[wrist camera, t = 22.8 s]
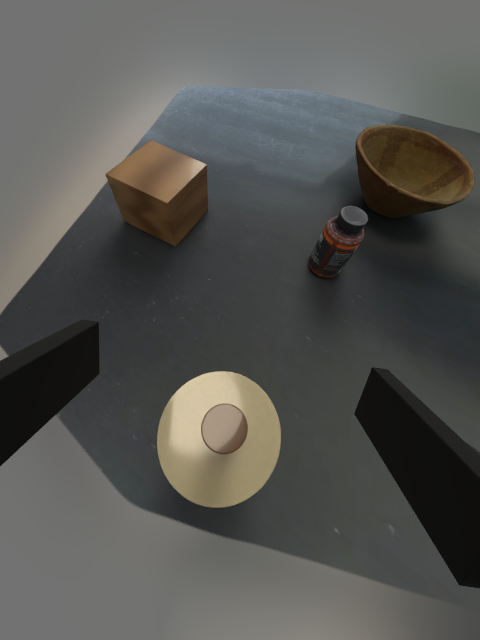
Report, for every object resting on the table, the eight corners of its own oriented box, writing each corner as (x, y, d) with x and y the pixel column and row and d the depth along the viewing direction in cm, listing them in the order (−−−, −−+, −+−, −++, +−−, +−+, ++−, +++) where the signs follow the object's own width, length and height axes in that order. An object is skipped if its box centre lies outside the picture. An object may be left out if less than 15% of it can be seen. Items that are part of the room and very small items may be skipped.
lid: (136, 414, 21) (94, 400, 14) (236, 352, 25) (247, 313, 17) (198, 541, 18) (187, 614, 10) (303, 449, 21) (354, 455, 14)
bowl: (340, 235, 49) (369, 190, 40) (329, 164, 59) (350, 115, 50) (445, 249, 50) (495, 207, 41) (416, 177, 60) (452, 131, 51)
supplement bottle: (345, 273, 45) (384, 224, 35) (319, 284, 43) (351, 235, 33) (326, 249, 47) (357, 196, 37) (300, 258, 45) (326, 206, 35)
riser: (124, 221, 45) (104, 173, 37) (160, 188, 50) (150, 139, 42) (175, 247, 44) (167, 203, 35) (208, 210, 48) (207, 164, 40)
